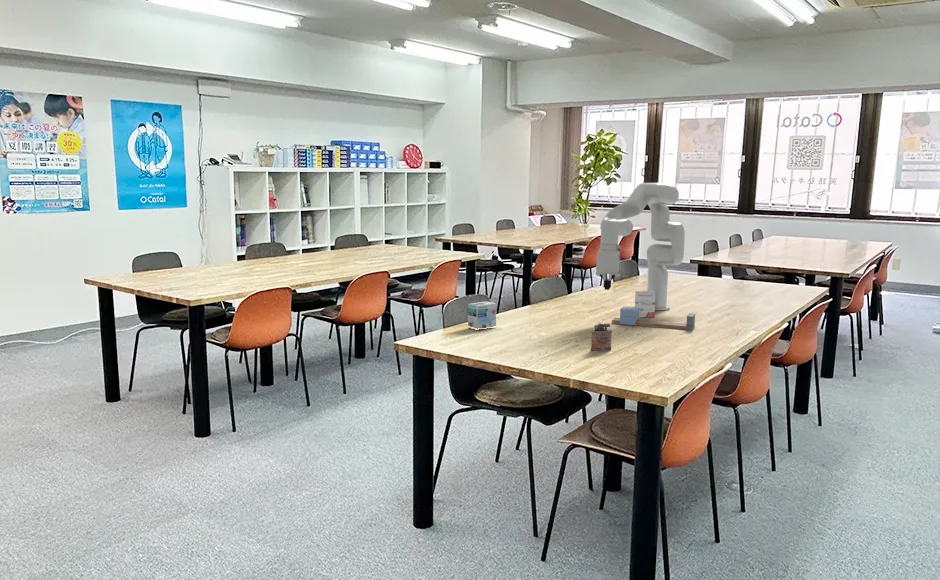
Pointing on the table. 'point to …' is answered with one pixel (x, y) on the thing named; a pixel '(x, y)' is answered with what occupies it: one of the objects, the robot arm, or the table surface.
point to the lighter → (601, 338)
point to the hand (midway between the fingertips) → (607, 289)
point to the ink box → (645, 303)
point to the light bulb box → (482, 314)
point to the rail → (665, 323)
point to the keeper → (629, 315)
